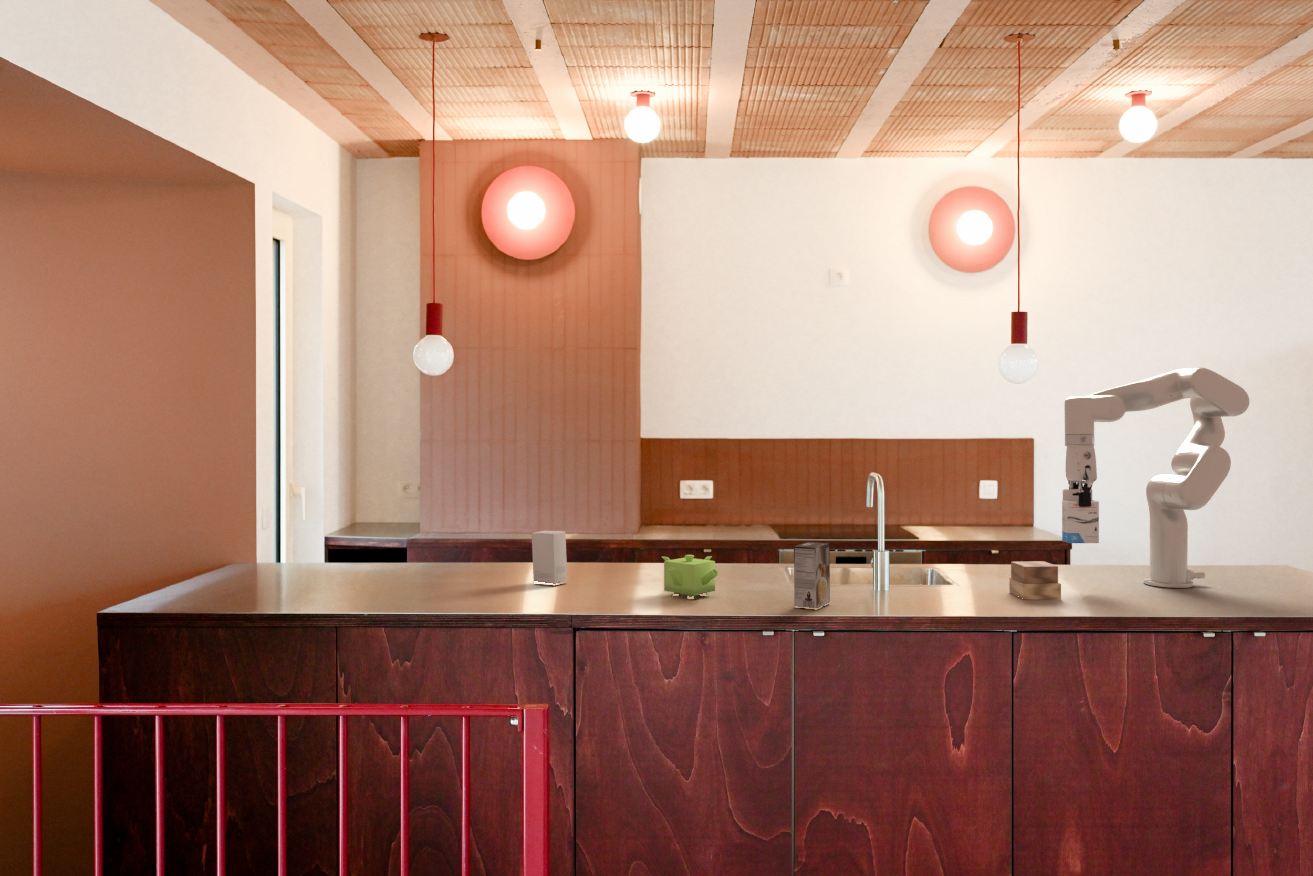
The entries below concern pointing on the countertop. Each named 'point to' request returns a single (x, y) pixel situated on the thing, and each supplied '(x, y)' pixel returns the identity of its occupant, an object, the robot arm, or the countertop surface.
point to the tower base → (1035, 590)
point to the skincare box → (549, 556)
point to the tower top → (1034, 572)
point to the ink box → (1079, 519)
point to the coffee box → (811, 574)
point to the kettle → (689, 575)
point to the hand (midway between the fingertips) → (1080, 505)
